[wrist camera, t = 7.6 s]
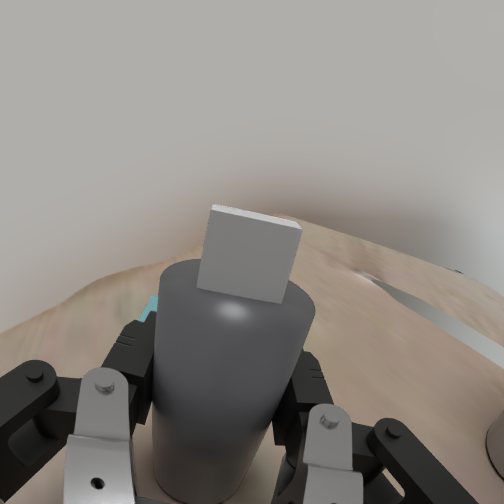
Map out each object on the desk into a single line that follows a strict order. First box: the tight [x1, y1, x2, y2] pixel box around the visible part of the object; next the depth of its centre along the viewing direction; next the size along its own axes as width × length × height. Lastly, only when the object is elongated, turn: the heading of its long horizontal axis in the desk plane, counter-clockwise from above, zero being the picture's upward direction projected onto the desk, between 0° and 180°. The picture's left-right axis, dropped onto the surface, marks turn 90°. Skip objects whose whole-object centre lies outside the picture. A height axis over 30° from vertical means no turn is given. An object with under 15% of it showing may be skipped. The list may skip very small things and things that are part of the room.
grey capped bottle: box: [152, 204, 315, 504], centre depth 9 cm, size 4×4×12 cm
